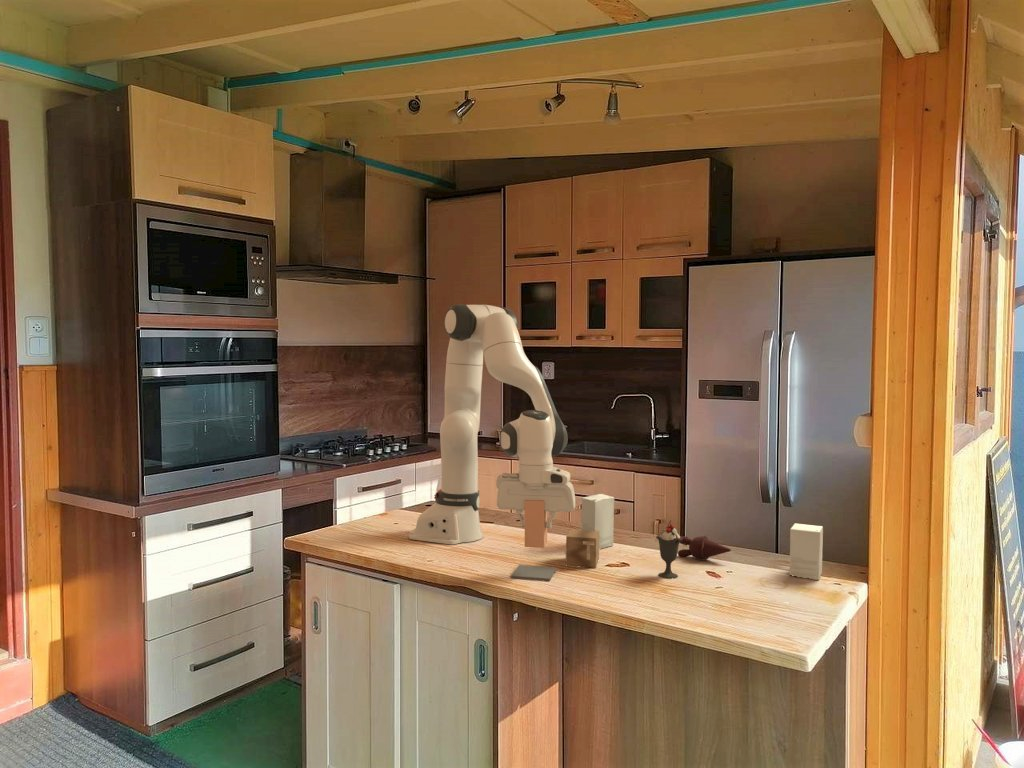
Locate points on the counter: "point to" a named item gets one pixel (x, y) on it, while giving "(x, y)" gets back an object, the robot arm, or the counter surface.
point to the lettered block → (582, 548)
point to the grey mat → (533, 572)
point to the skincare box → (599, 517)
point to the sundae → (669, 549)
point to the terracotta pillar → (535, 524)
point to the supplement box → (806, 551)
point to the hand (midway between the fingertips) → (536, 527)
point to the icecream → (701, 548)
